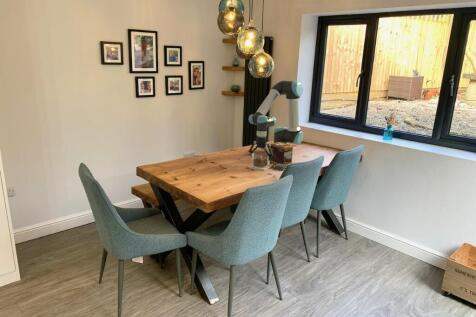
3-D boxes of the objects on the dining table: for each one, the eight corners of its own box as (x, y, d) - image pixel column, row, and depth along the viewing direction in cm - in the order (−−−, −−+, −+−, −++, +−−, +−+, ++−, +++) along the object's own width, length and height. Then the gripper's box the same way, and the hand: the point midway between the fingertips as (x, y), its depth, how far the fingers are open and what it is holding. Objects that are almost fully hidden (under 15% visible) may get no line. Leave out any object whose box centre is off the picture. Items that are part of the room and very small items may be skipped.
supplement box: (283, 166, 286) (284, 147, 282) (269, 161, 297) (270, 143, 293) (291, 164, 292) (293, 145, 288) (278, 159, 304) (279, 141, 300)
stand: (277, 166, 284) (278, 163, 283) (286, 168, 281) (286, 164, 280) (274, 169, 278) (274, 165, 277) (282, 170, 275) (283, 166, 274)
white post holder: (256, 163, 292) (256, 152, 289) (272, 166, 285) (272, 154, 283) (248, 167, 280) (248, 156, 277) (264, 170, 273) (265, 159, 271)
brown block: (257, 163, 287) (258, 156, 286) (267, 165, 284) (267, 157, 282) (253, 165, 281) (253, 158, 279) (262, 167, 277) (263, 160, 275)
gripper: (244, 134, 278) (243, 161, 284) (274, 139, 267) (273, 166, 273) (249, 133, 285) (248, 159, 291) (278, 137, 273) (277, 164, 279)
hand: (260, 162), depth 282 cm, fingers open, 13 cm apart
